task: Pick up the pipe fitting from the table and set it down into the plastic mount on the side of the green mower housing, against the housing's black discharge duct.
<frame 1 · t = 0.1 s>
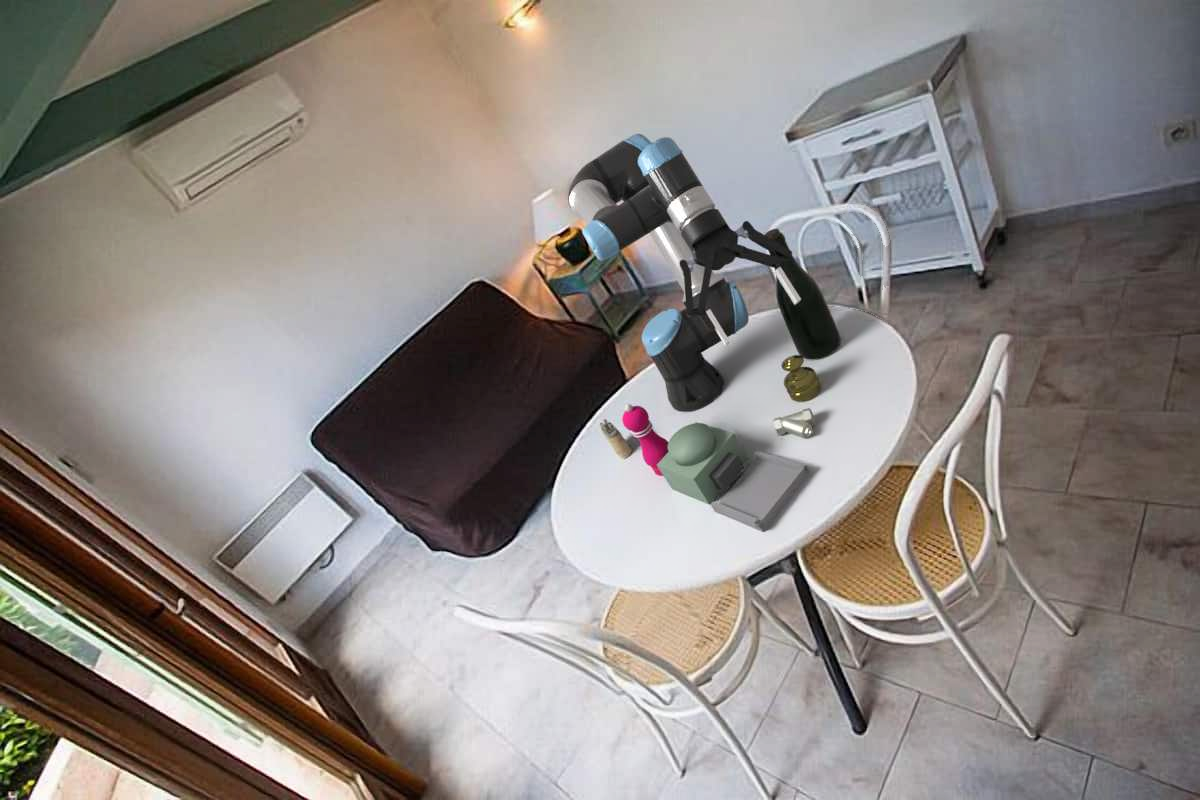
hand: (762, 323, 110), 36 cm above the table, tool tilted 35°, fingers open, 13 cm apart
tan cylindrical piece: (624, 451, 167), on the table
dark green wine bottle: (820, 348, 157), on the table
pipe fitting: (798, 433, 139), on the table
brass rounded piece: (806, 392, 148), on the table
mower housing: (709, 474, 143), on the table
pepper mill: (666, 466, 153), on the table
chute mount: (761, 492, 131), on the table
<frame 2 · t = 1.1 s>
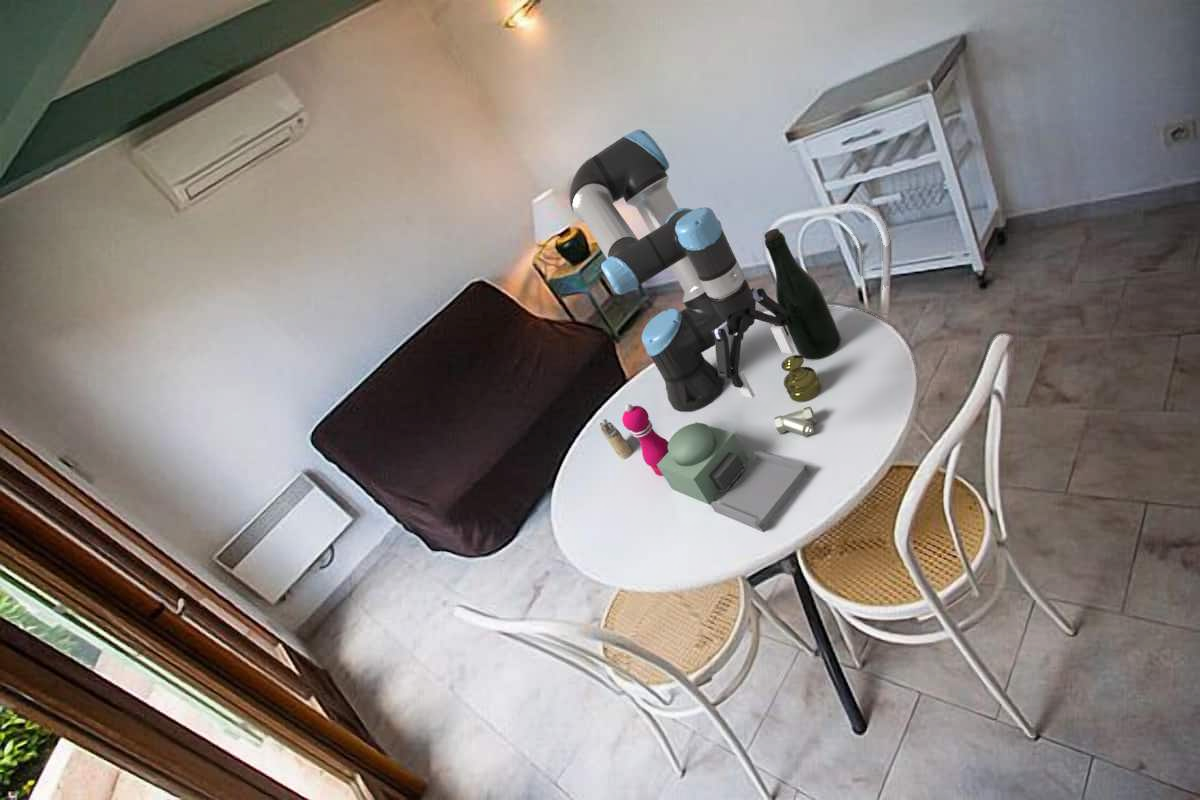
hand: (768, 373, 130), 17 cm above the table, tool pointing down, fingers open, 13 cm apart
nothing on the table moved.
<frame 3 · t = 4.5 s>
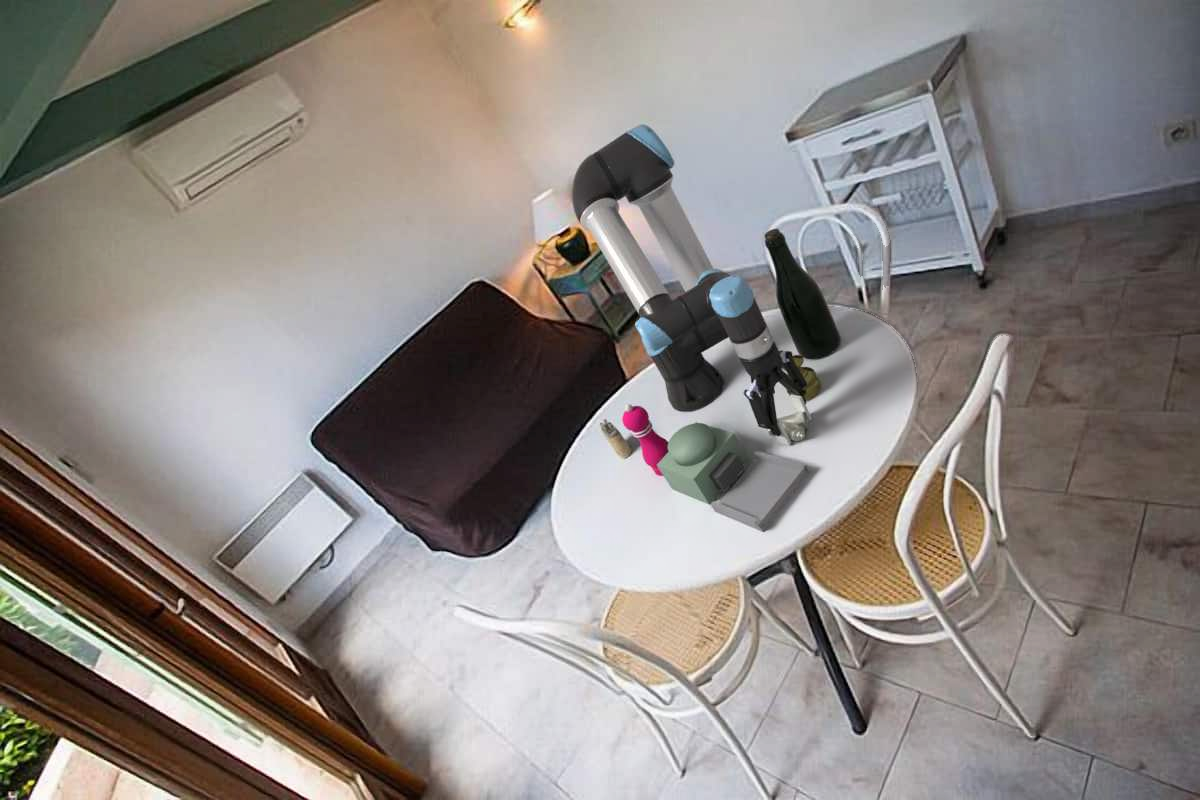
hand: (795, 430, 138), 1 cm above the table, tool pointing down, fingers closed on pipe fitting, 7 cm apart
pipe fitting: (790, 435, 139), on the table, touching gripper
everything else where it was.
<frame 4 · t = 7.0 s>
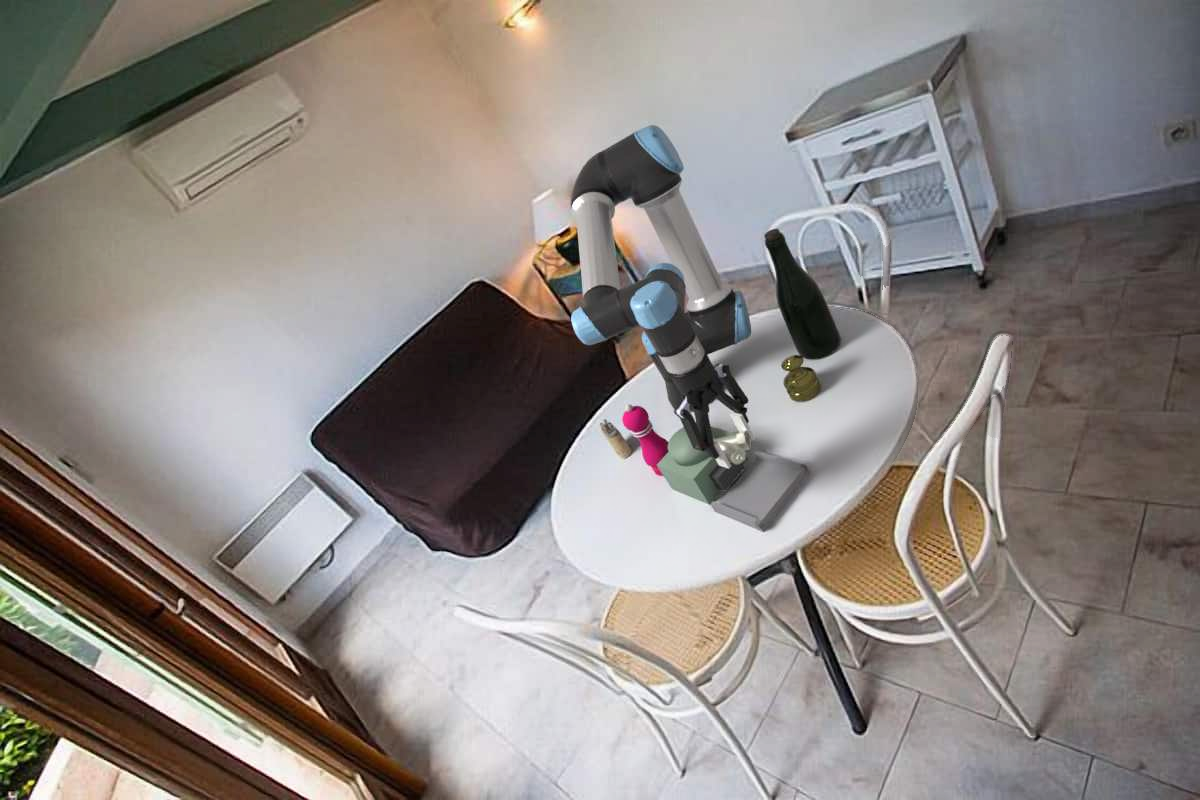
hand: (736, 451, 125), 12 cm above the table, tool pointing down, fingers closed on pipe fitting, 7 cm apart
pipe fitting: (732, 457, 126), point 11 cm above the table, touching gripper
everything else where it was.
when the fingers open (1 cm above the table, at t = 9.5 s): pipe fitting stays where it is, resting on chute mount.
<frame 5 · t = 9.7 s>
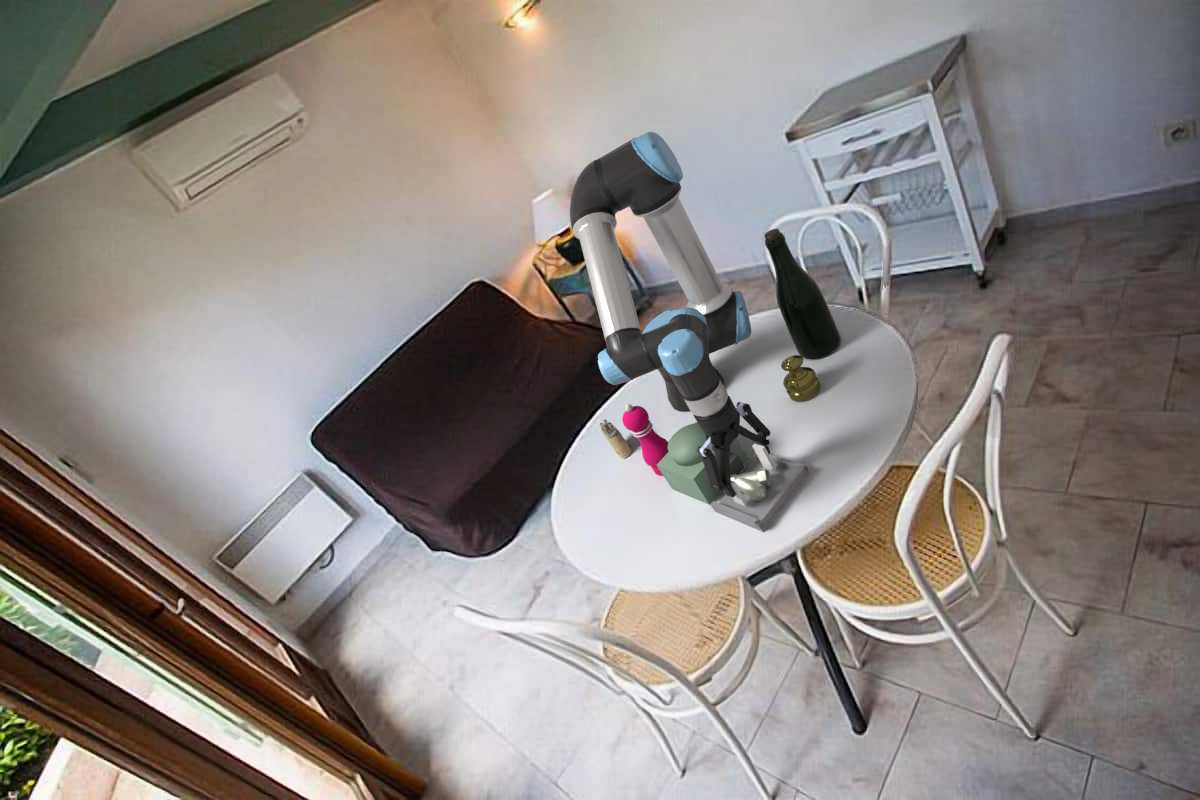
hand: (756, 485, 130), 2 cm above the table, tool pointing down, fingers open, 9 cm apart
pipe fitting: (753, 493, 131), point 1 cm above the table, touching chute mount
everything else where it was.
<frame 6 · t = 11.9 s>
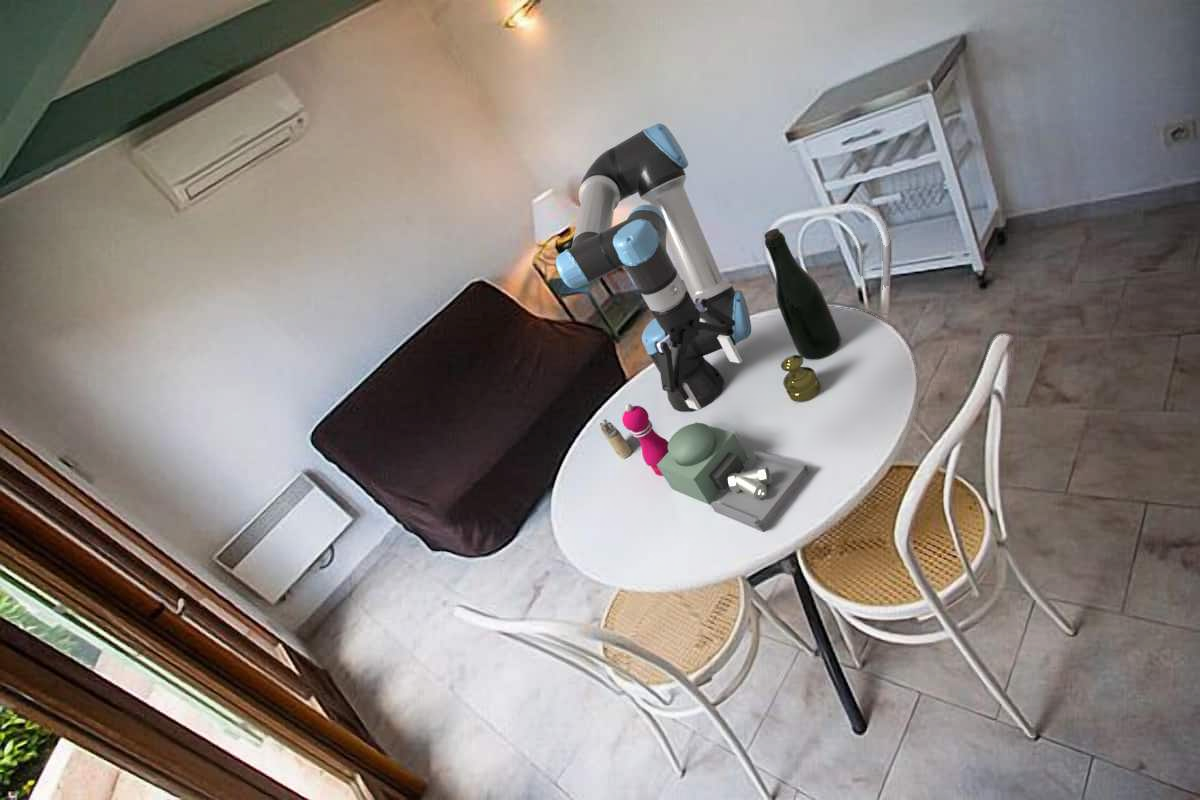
hand: (715, 384, 128), 22 cm above the table, tool pointing down, fingers open, 13 cm apart
nothing on the table moved.
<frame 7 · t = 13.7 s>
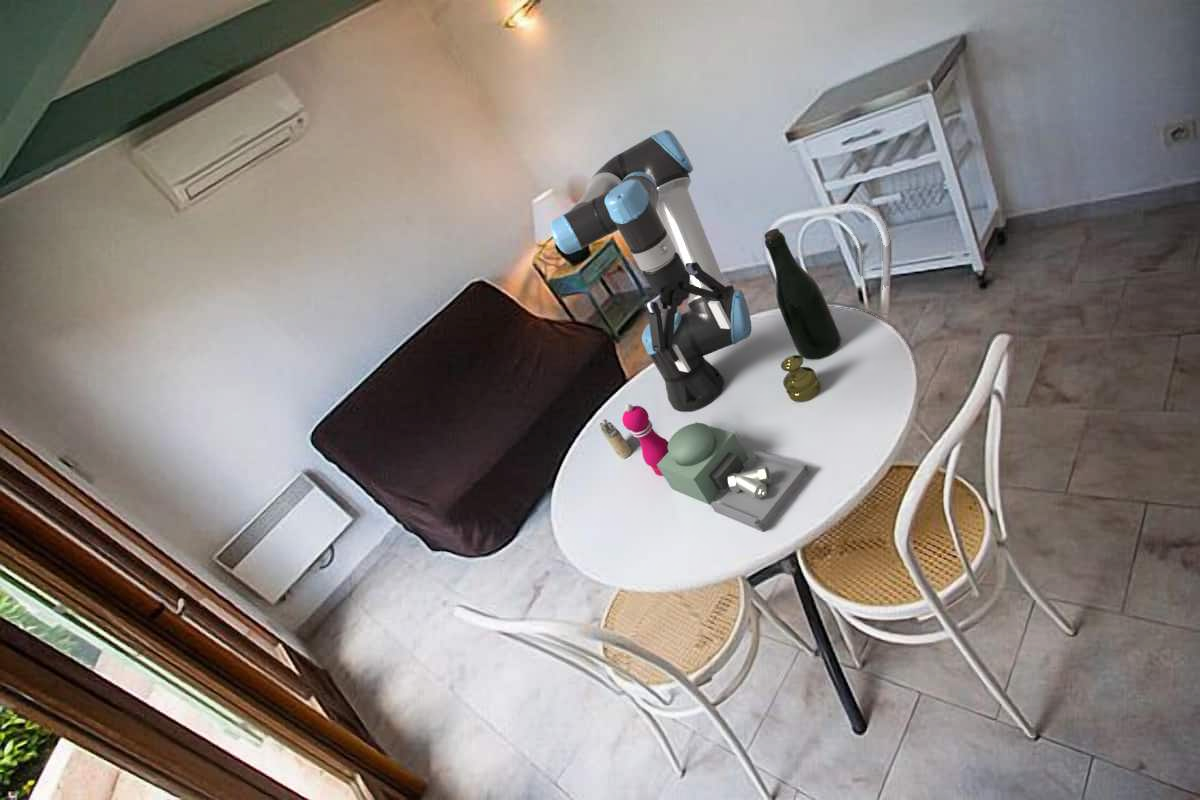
hand: (706, 348, 131), 27 cm above the table, tool pointing down, fingers open, 13 cm apart
nothing on the table moved.
at the end: pipe fitting inside the target area on the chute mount (1.1 cm from its centre), point 0.6 cm above the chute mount's base; the gripper is holding nothing; pipe fitting touching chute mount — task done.
